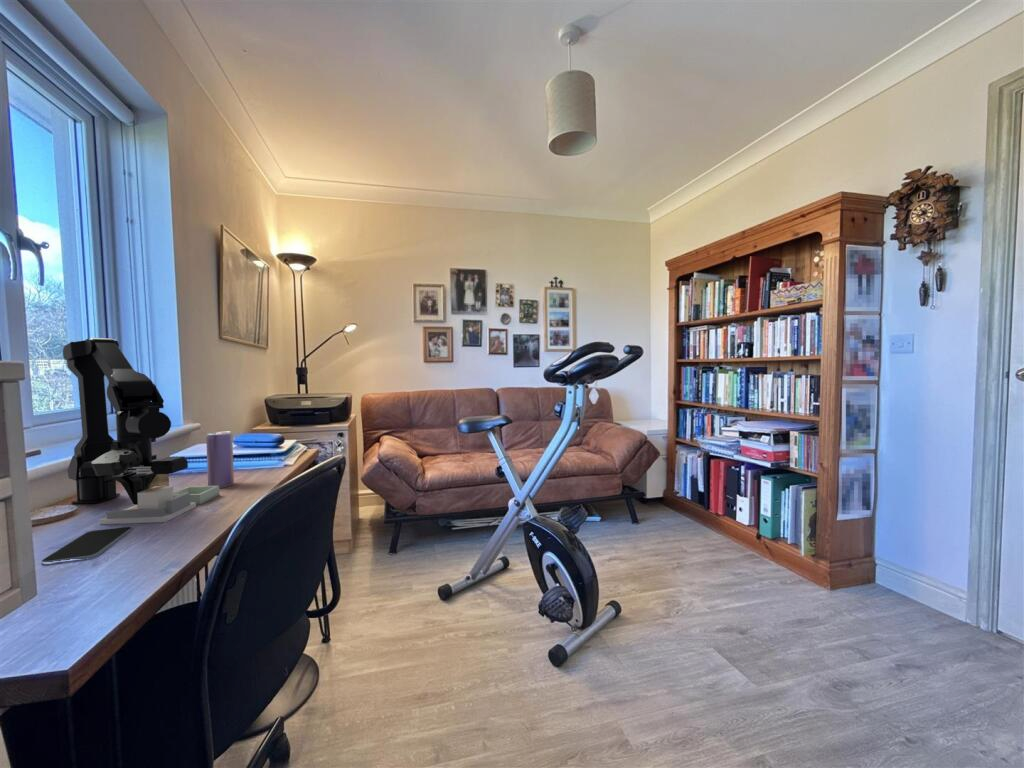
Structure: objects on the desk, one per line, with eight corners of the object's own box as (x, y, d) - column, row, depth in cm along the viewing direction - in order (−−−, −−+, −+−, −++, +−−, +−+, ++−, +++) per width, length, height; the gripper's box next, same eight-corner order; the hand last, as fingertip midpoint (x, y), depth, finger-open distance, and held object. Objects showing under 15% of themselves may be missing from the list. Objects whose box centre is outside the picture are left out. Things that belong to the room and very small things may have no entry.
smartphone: (134, 525, 87) (94, 555, 73) (134, 530, 87) (95, 560, 73) (88, 531, 84) (37, 562, 70) (88, 535, 84) (37, 567, 70)
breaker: (138, 512, 92) (137, 492, 92) (155, 505, 97) (154, 485, 97) (157, 512, 92) (156, 491, 92) (173, 504, 97) (173, 485, 97)
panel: (99, 524, 89) (99, 505, 89) (137, 508, 99) (136, 491, 99) (165, 521, 90) (164, 503, 90) (196, 506, 100) (195, 489, 100)
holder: (167, 505, 100) (166, 495, 100) (188, 496, 108) (188, 486, 108) (200, 504, 101) (200, 494, 101) (219, 495, 109) (219, 485, 109)
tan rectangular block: (144, 501, 104) (143, 461, 103) (155, 497, 107) (153, 458, 107) (159, 501, 104) (157, 461, 104) (169, 496, 108) (167, 458, 107)
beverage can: (224, 488, 114) (222, 434, 114) (202, 488, 115) (200, 434, 114) (238, 482, 120) (237, 431, 120) (218, 482, 120) (216, 431, 120)
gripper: (52, 442, 84) (56, 518, 85) (151, 440, 86) (154, 515, 87) (101, 433, 96) (104, 501, 96) (188, 432, 97) (190, 498, 98)
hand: (137, 504), depth 94 cm, fingers closed
